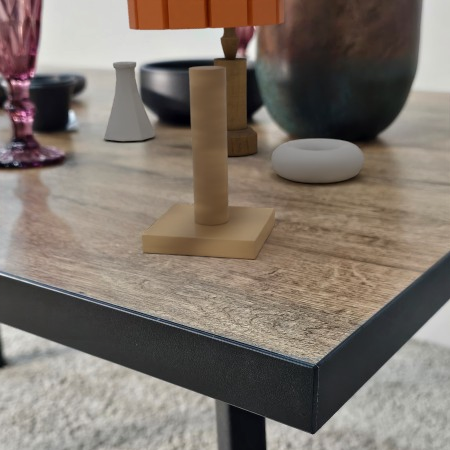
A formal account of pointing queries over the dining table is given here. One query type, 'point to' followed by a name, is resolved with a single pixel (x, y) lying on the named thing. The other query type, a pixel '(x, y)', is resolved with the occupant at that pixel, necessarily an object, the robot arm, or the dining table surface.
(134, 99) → the flask
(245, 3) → the ring
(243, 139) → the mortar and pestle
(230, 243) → the stand
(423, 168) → the dining table surface
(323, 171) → the donut
